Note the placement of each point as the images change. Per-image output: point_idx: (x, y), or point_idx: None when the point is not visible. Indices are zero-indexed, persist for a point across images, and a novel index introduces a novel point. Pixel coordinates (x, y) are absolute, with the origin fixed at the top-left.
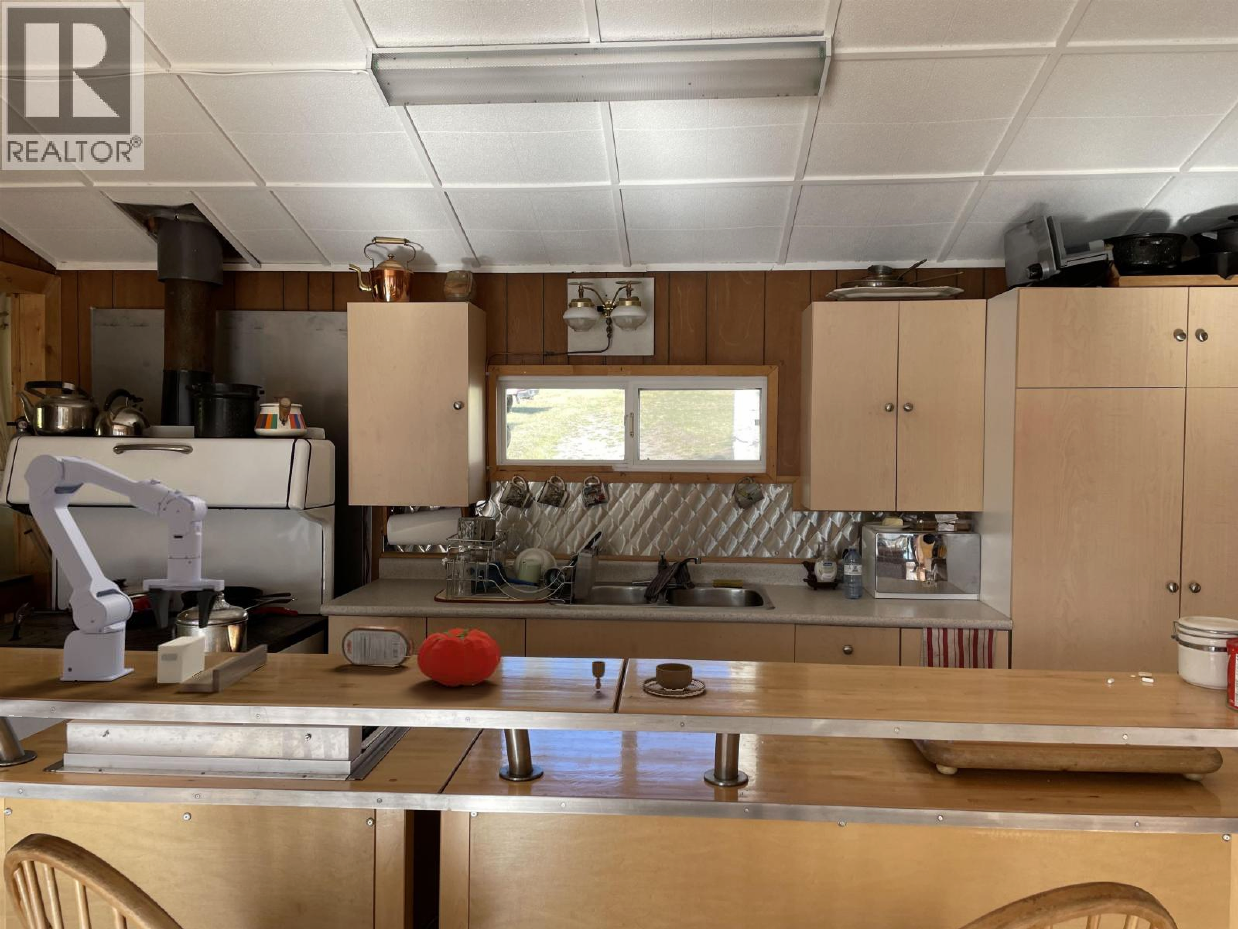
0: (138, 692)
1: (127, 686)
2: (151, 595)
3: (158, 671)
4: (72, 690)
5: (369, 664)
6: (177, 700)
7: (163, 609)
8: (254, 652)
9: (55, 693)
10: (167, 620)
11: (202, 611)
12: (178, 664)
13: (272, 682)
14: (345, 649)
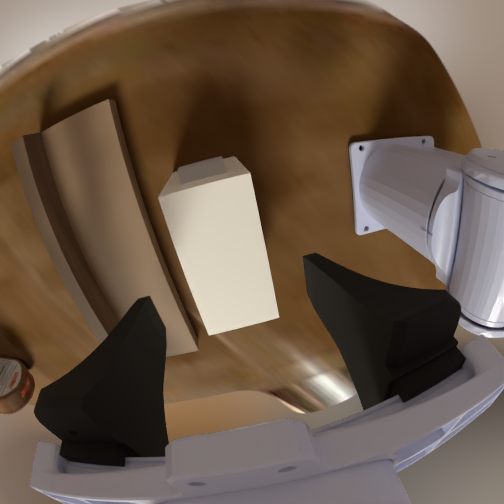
0: (211, 67)
1: (281, 110)
2: (426, 307)
3: (235, 160)
4: (369, 69)
5: (3, 358)
6: (76, 51)
7: (340, 319)
8: (94, 331)
9: (380, 48)
10: (315, 307)
11: (108, 341)
12: (177, 178)
13: (14, 241)
14: (19, 377)
